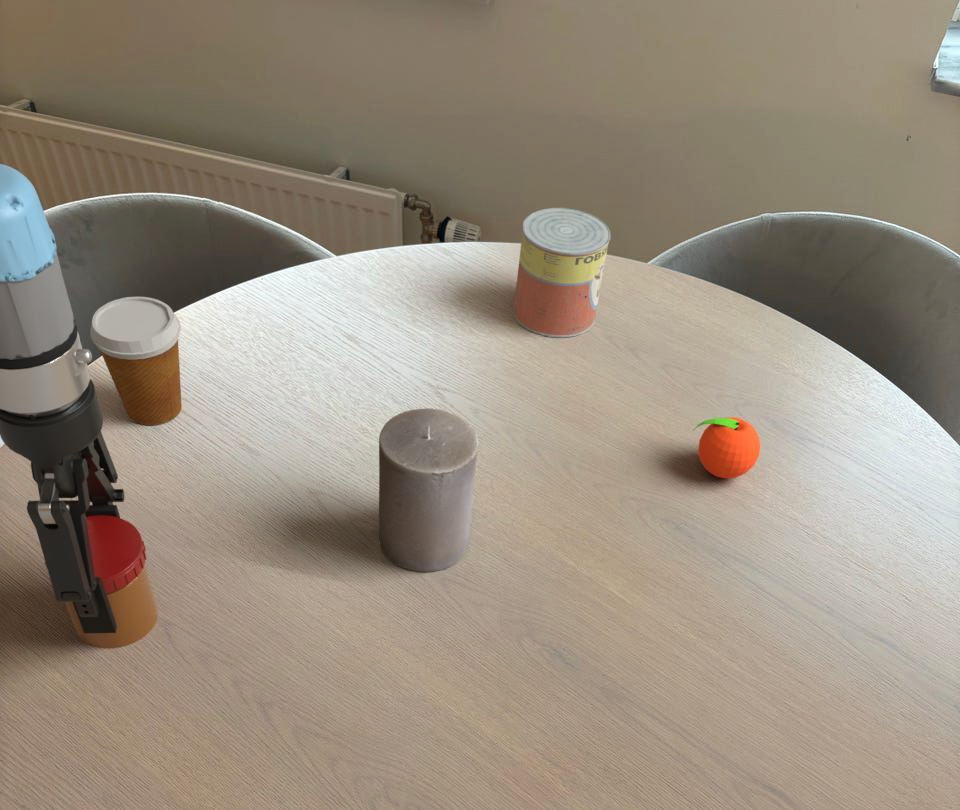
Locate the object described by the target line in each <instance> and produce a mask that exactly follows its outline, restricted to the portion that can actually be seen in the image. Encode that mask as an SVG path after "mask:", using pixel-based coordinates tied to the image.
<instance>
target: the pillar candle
mask: <svg viewBox="0 0 960 810" xmlns="http://www.w3.org/2000/svg"><path fill="white" fill-rule="evenodd" d="M478 436H479V434H478V431H477V430H476V429H475V428H474V427H473V426H471V424H469V422H467V421H466V420H465V419H463V418H462V417H460V416H459V415H456V414H454V413H452V412H449V411H447V410H443V409H438V408H437V409H436V408H416V409H410V410H405V411H403V412H400V413H398V414H397V415H394V416H392V417H391V418H389V420H388V421H386V422H385V424H384V425H383V427H382V429H381V430H380V433H379V438H378V542H379V543H378V544H379V546H380V549H381V552H383V554H384V555H385V556H386V557H387V558H388V559H389V561H391V562H392V563H394V564H395V565H396V566H399V567H400V568H404V569H406V570H410V571H413V572H414V571H415V572H426V573H427V572H428V573H429V572H436V571H440V570H445V569H448V568H450V567H451V566H453V565H455V564H457V563H458V562H459V561H460V560H461V559H462V557H463V556H464V554H465V552H466V551H467V549H468V546H469V543H470V534H471V525H472V514H473V513H472V512H473V505H474V503H473V502H474V493H475V492H474V491H475V480H476V479H475V478H476V471H477V470H476V467H477V459H478V449H479V439H478Z"/></svg>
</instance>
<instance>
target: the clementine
mask: <svg viewBox="0 0 960 810" xmlns="http://www.w3.org/2000/svg"><path fill="white" fill-rule="evenodd" d="M703 425H708V426H707V427H705V429H704V431H703V433H702V434H701V436H700V438H699V440H698V441H699V442H698V449H697V452H698V456H699V460H700V463H701V464H702V465H703V467H704V468H705V470H706V471H707V472H708V473H710V474H711V475H713V476H715V477H719V478H720V479H721V478H722V479H733V478H739V477H741V476H743V475H745V474H746V473H748V472H749V471H750V470H751V469H752V468H754V466H755V465H756V462H757V461H758V458H759V457H760V452H761V440H760V436H759V434H758V432H757V430H756V428H755V427H754V426H753V425H752V424H751V423H749V422H748V421H746V420H745V419H742V418H741V417H740V418H739V417H733V416H732V417H730V416H727V417H714V418H710V419H706V420H703V421H702V422H700V423H698V424H697V425H696V426H695V427H694V429H693V430H692V432H694V431H695V430H696V429H697V428H699V427H701V426H703Z"/></svg>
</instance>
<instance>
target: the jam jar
mask: <svg viewBox="0 0 960 810" xmlns="http://www.w3.org/2000/svg"><path fill="white" fill-rule="evenodd" d="M150 579H151V578H150V576H149V572H148V569H147V564H146V563H145V564H144V568H143V569H142V571H141V572H140V574H139V575H138V577H136V578H135V579H134V580H133V581H132V582H131V583H129V584H128V585H126V586H125V587H123V588H121V589H119V590H116V591H114V592H111V593H107V594H106V596H107V598H108V601H109V604H110V607H111V610H112V613H113V616H114V619H115V622H116V625H117V629H116V633H84V631H83V629H82V626H81V623H80V621H79V618H78V616H77V613H76V610H75V608H74V605H73V602H64V603H65V606H66V609H67V612H68V614H69V616H70V619H71V622H72V625H73V627H74V629H75V632H76V634H77V636H78V637H79V638H80V639H81V640H82V641H83V642H85V643H87V644H88V645H91V646H92V647H96V648H102V649H119V648H123V647H127V646H130V645H133V644H135V643H137V642H138V641H140V640H142V639H143V638H145V637H146V636H147V635H148V634H149V633H151V631H152V630H153V628H155V625H156V624H157V621H158V619H159V607H158V604H157V601H156V598H155V597H156V596H155V594H154V591H153V587H152V583H151V580H150Z"/></svg>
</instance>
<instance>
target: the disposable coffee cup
mask: <svg viewBox="0 0 960 810" xmlns="http://www.w3.org/2000/svg"><path fill="white" fill-rule="evenodd" d="M181 326H182V325H181V322H180V320H179V317H177V315H176V314H175V313H174V310H173V309H172V308H171V307H170V305H168V304H167V303H165V302H163V301H161V299H157V298H153V297H147V296H127V297H126V296H125V297H121V298H117V299H114V300H111V301H108V302H107V303H104V304H103V305H102V306H101V307H99V308H97V310H96V311H95V312H94V314H93V315H92V319H91V325H90V328H89V335H90V339H91V341H92V342H93V344H94V345H95V346H96V347H97V348H98V350H99V352H100V353H101V356H102V358H103V361H104V364H105V366H106V367H107V371H108V373H109V376H110V377H111V380H112V383H113V384H114V386H115V389H116V391H117V393H118V396H119V399H120V400H121V404H122V405H123V408H124V410H125V412H126V415H127V417H128V418H129V419H130V420H131V421H133V422H134V423H137V424H139V425H144V426H157V425H158V426H159V425H163V424H166V423H168V422H170V421H173V420H174V419H175V418H176V417H178V415H180V413H181V411H182V389H181V387H182V386H181V370H180V350H179V338H180V334H181V328H182V327H181Z"/></svg>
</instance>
